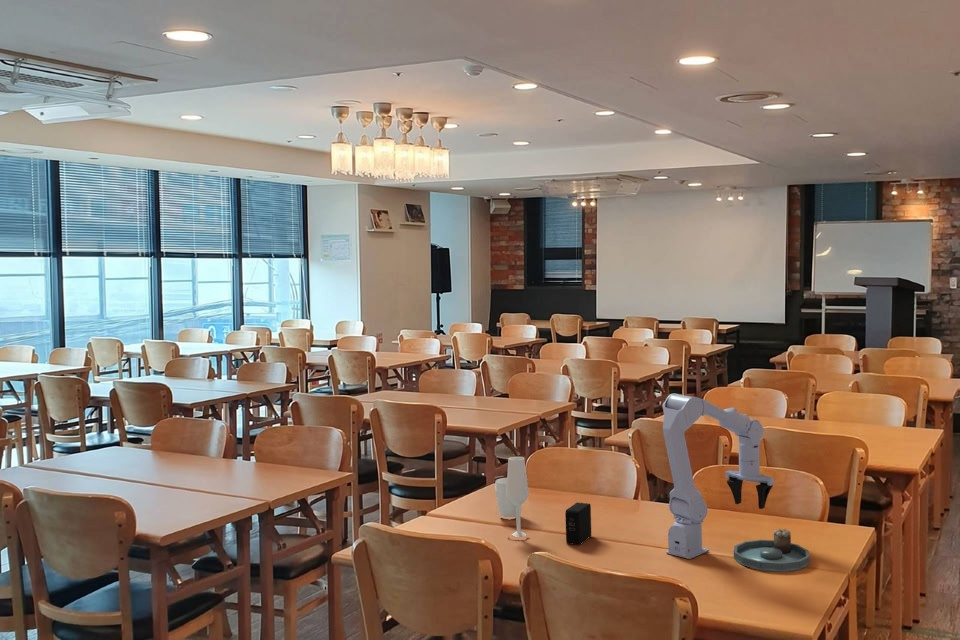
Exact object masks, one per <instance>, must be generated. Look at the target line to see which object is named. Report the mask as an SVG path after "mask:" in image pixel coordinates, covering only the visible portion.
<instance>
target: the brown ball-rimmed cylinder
mask: <svg viewBox="0 0 960 640" xmlns="http://www.w3.org/2000/svg"><path fill="white" fill-rule="evenodd" d="M791 537H792V535H791V531H790V530H787V529H785V528H784V529H781V528H778V529H775V530H774V531H773V540H774V548H776V549H779V550H781V551H782V554H788V553H791V543H792V539H791Z"/></svg>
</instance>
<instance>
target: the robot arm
mask: <svg viewBox="0 0 960 640" xmlns="http://www.w3.org/2000/svg"><path fill="white" fill-rule="evenodd" d="M662 410H663V415H664V416H663V420H662V421H663V422H662V433H663V439H664V443H665V449H666V453H667V459H668V463H669V469H670V473H671V477H672V478H671V479H672V483H673V489H672V490H671V491H669V503H668V508H669V510H670V513H671V515H672V514H673V519H674V523H673V524H672V525H671V526H670V527H669V529H668V531H667V539H668V540H667V542H668V546H667V547H668V550H666V551H665V553H666V554H668V555H673V556H677V557H681V558H684V559H689V560H691V559H693V558H696V557H697V556H700V555H703V554H705V553H707V552H709V548H705V547H703V529H702V527H703V526H702V525H703V524H702V523H704V520H705V518H706V517H707V515H708V506H707V504H706V502H705V501H704V499H703V494H702V493H701V492H700V491H699V489H698V488H697V487H696V486H695V482H694V476H693V471H692V466H691V461H690V456H689V450H688V446H687V442H686V436H685V433H686V431H687V430H688V429H690V428H691V426H692V425H694V423H696V422H697V421H698V420H699V419H700V418H701V417H702V416H703V417H704V416H708V417H709V418H712V419H714V420H717V421H718V424H719V426H720V427H721V428H723V429H726V430H728V431H730V432H732V433H734V434H735V436H736V437H738V470H730V469H729V470H726V471H725V478H726V479H728V480H726V483H727V485H728V487H729V489H730V492H731V494H732V495H733V496H732V497H733V500H734V504H735V505H739V504H741V503H742V490H743V489H742V488H743V483H744V481H745V482H752V483H757V485H755V488H756V493H757V497H758V498H757V499H758V509H759V510H763V509H765V508H766V503H767V499H768V496H769V493H770V491H771V490H772V488H773V486H774V485H775V477H772V476H768V475H764V474H762V473H761V472H760V471H761V469H760V462H761V461H760V445H761V444H762V437H763V435H764V432H765V428H763V424H762V423H761V421H760V420H758V419H754V418H750V417H749V415H748V414H746V413H740V412H739V411H738V409H737V408H735V407H729V408H725V409H723V408H721V407H719V406H717V405H715V404H713V403H711V402H710V401H708V400H706V399H704V398H700V397H698V396H689V395H683V394H680V393H677V392H676V393H671V394H669V395H668V396H667V397H666V398H665V400H664V402H663V403H662Z"/></svg>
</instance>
